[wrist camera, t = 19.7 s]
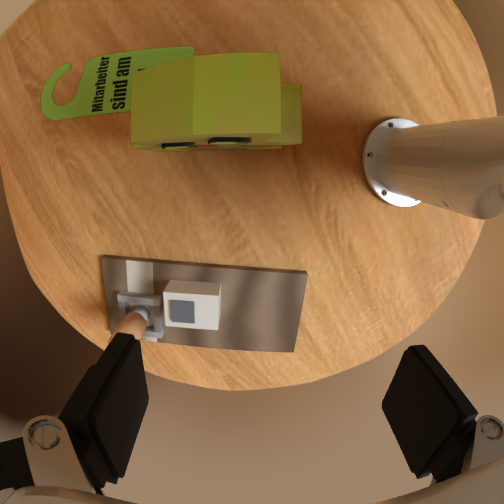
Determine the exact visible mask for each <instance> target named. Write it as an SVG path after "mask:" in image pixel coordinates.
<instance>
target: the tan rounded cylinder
mask: <svg viewBox="0 0 504 504" xmlns="http://www.w3.org/2000/svg"><path fill="white" fill-rule="evenodd" d="M149 315H150V313H149V310H148V309H147V308H146V307H145V306H142V305H139V306H137V307H136V308H135V309H134V311H133V312H130V313H128V314H127V315H126V316H125V317H124V319H123V320H122V321H121V323H120V324H119V326H118V327H117V329H116V330H115V331H114V333H113V334H112V336H111V337H110V339H109V343H110V342H111V340H112V339H113V337H114V336H115V334H116V333H117V332H121V333H128V334H133V335H134V336H135V339H138V340H139V341H140V339H141V337H142V336H143V334H144V332H145V330H146V328H147V322H146V321H147V319H148V318H149Z"/></svg>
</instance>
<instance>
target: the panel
mask: <svg viewBox="0 0 504 504" xmlns="http://www.w3.org/2000/svg"><path fill="white" fill-rule="evenodd" d="M102 268H103V279H104V289H105V297H106V305H107V312H108V319H109V325H110V331H111V335H112V334H113V333H114V331H115V330H116V329H117V327H118V326H119V324H120V323H121V321H122V320H123V319H124V317H125V316H126V315H127V314H128V313H130V312H133V311H134V309H135V308H136V307H137V306H139V305H142V306H145V307H146V308H147V309H148V310H149V313H150V315H149V318H148V319H147V321H146V322H147V328H146V330H145V332H144V334H143V336H142V337H141V339H140V340H145V341H152V342H163V343H170V344H179V345H187V346H197V347H207V348H219V349H232V350H247V351H266V352H294V348H295V342H296V337H297V332H298V327H299V322H300V316H301V311H302V305H303V299H304V293H305V288H306V281H307V275H308V274H307V272H306V271H296V270H282V269H268V268H254V267H241V266H227V265H215V264H202V263H190V262H178V261H166V260H154V259H143V258H132V257H121V256H110V255H104V256H103V257H102ZM170 280H182V281H198V282H214V283H221V306H220V321H219V328H218V330H207V329H194V328H182V327H171V326H166V325H165V313H164V299H163V291H164V289H165V288H166V286H167V284H168V283H169V281H170Z"/></svg>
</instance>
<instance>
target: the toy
mask: <svg viewBox="0 0 504 504" xmlns="http://www.w3.org/2000/svg"><path fill="white" fill-rule="evenodd" d="M131 143H132V149H153V151H155V152H167V151H191V150H210V149H282V147H283V145H295V144H302V85H297V84H289V83H280V52H243V53H222V54H209V55H198V56H192V57H188V58H183V59H179V60H175V61H172V62H168V63H164V64H161V65H157V66H154V67H150V68H147V69H144V70H141V71H138V72H135V73H133V81H132V99H131Z"/></svg>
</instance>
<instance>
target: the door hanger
mask: <svg viewBox="0 0 504 504" xmlns="http://www.w3.org/2000/svg"><path fill="white" fill-rule="evenodd" d="M194 50H195V49H194V48H193V47H191V46H180V47H164V48H153V49H143V50H135V51H127V52H121V53H114V54H108V55H103V56H98V57H94V58H92V59H91V60H90V61H89V62H88V63H87V64H86V65H85V68H84V71H83V74H82V77H81V80H80V83H79V87H78V90H77V94H76V96H75V97H74V98H73V100H72V101H71V102H70V103H68V104H66V105H62V106H59V105H56V104H55V103H54V102H53V99H52V94H53V88H54V86H55V84H56V82H57V80H58V79H59V78H60V77H62V76H63V75H64V74H65V73H66V72H68V71H69V70H70V69H71V64H70V63H66V64H64V65H62V66H61V67H59V68H58V69H56V70H55V71H54V72H53V73H52V74H51V75H50V77H49V78H48V79H47V81H46V83H45V85H44V87H43V90H42V94H41V102H40V103H41V111H42V114H43V115H44V116H45V117H47V118H48V119H50V120H55V121H58V120H63V119H69V118H76V117H82V116H90V115H97V114H106V113H116V112H127V111H131V99H132V81H133V73H135V72H138V71H141V70H144V69H147V68H150V67H154V66H157V65H161V64H164V63H168V62H172V61H175V60H179V59H183V58H188V57H192V56H194Z"/></svg>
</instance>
